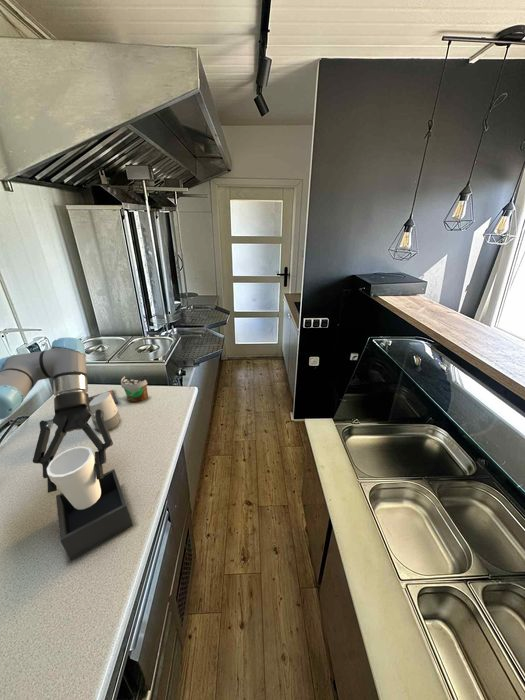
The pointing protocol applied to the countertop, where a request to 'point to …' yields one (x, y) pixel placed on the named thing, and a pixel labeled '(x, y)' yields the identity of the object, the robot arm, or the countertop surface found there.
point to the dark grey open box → (93, 518)
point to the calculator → (101, 393)
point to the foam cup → (76, 476)
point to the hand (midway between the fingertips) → (76, 485)
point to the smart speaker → (105, 410)
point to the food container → (135, 389)
